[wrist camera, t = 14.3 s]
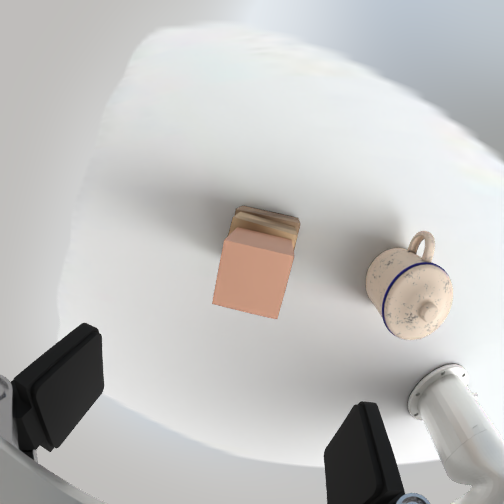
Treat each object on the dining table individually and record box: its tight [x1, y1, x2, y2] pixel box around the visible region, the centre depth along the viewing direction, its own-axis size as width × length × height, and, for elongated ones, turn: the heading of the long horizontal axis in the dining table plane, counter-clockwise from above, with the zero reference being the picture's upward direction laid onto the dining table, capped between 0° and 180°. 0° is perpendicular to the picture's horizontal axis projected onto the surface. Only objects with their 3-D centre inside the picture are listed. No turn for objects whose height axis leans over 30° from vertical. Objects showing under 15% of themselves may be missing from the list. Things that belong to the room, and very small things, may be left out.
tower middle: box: [228, 212, 298, 249], centre depth 29 cm, size 6×6×5 cm
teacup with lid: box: [366, 231, 453, 340], centre depth 30 cm, size 12×9×12 cm
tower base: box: [235, 206, 300, 251], centre depth 34 cm, size 7×7×5 cm
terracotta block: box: [212, 227, 294, 319], centre depth 24 cm, size 5×5×6 cm
